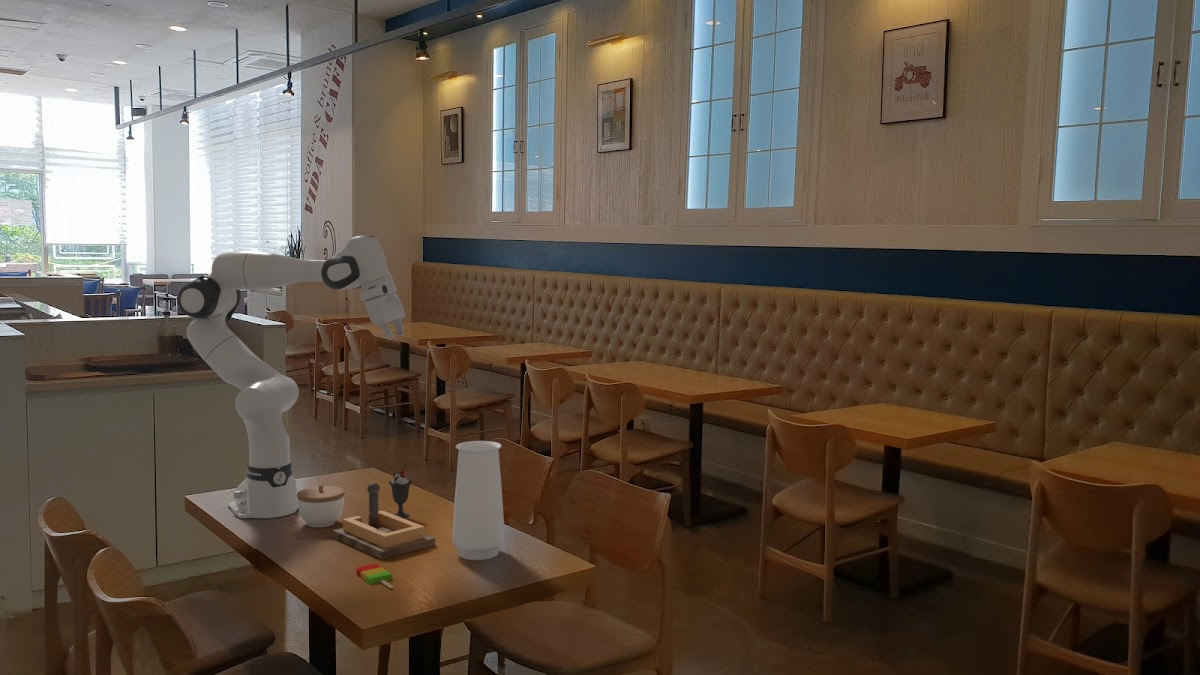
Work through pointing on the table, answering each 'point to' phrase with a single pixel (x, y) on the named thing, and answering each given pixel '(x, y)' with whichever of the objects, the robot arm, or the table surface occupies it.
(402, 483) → the sundae
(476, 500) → the vase
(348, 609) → the table surface
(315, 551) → the table surface
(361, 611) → the table surface
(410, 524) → the link
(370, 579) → the popsicle
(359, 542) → the stand
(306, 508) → the lidded bowl
